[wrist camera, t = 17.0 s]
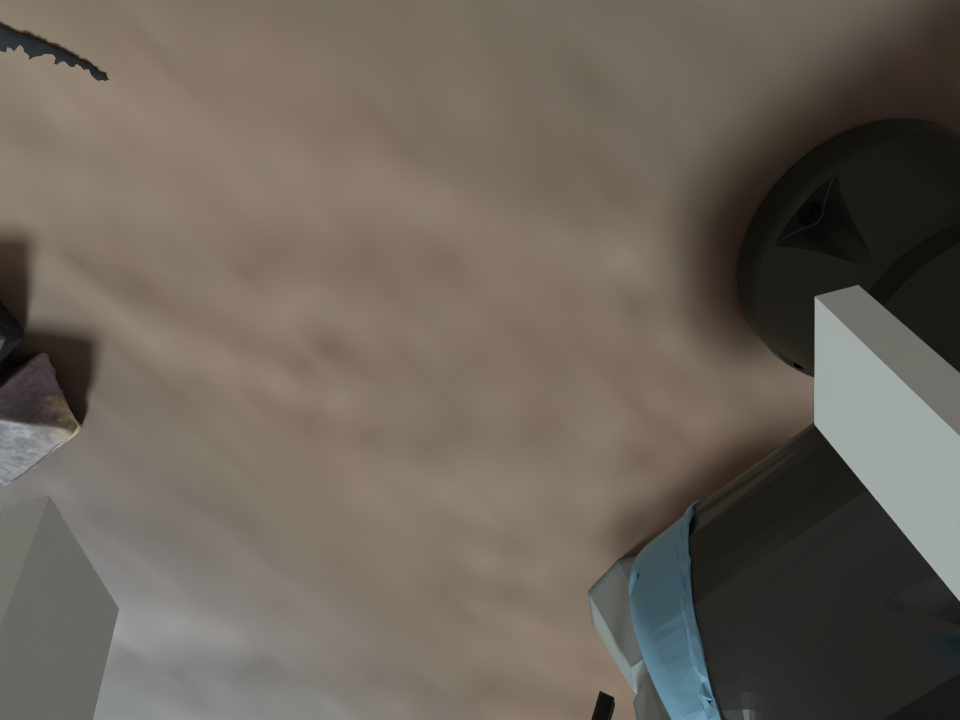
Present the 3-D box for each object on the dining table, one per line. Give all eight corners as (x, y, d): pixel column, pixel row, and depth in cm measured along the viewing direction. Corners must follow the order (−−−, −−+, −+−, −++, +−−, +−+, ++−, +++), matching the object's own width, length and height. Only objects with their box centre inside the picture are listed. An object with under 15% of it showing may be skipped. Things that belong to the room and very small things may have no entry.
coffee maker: (728, 527, 63) (868, 762, 48) (729, 610, 67) (856, 847, 53) (520, 581, 62) (596, 838, 47) (536, 661, 67) (610, 916, 52)
